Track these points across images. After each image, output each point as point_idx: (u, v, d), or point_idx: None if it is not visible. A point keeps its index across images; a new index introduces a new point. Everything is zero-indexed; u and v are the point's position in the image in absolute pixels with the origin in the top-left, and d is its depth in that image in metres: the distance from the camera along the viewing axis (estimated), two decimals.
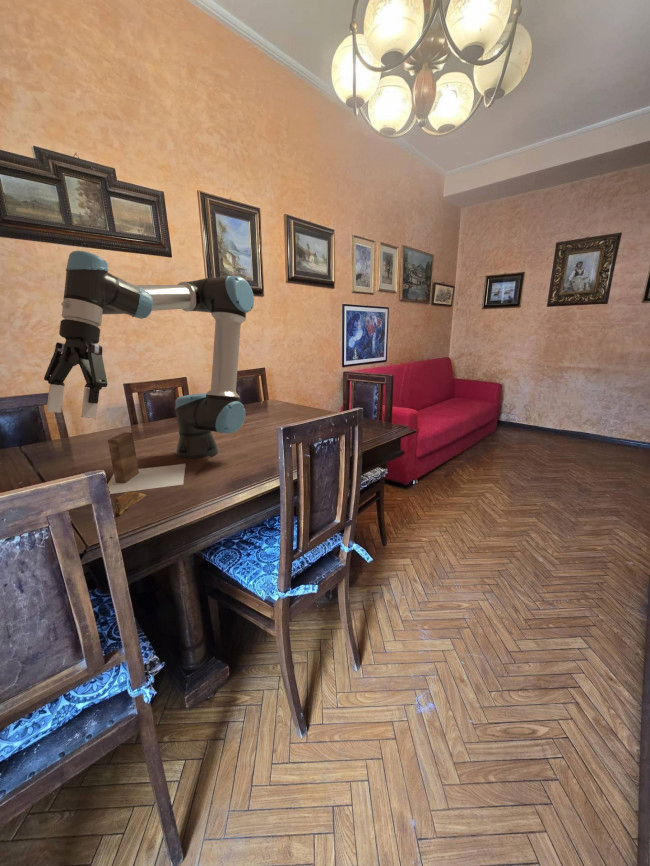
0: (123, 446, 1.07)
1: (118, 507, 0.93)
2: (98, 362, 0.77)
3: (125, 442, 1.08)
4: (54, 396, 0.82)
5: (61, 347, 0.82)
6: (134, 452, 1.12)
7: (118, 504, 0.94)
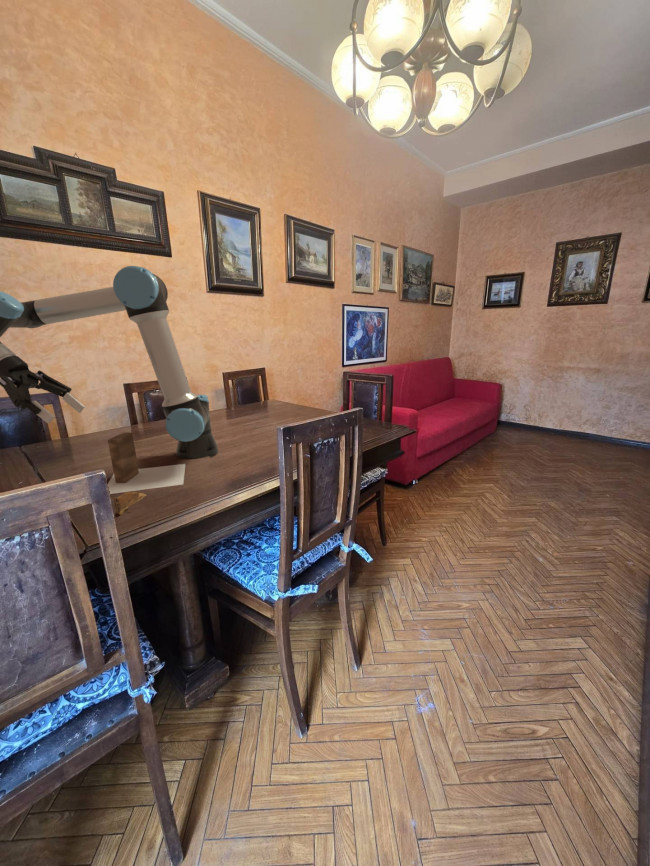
0: (123, 446, 1.07)
1: (118, 507, 0.93)
2: (9, 389, 0.96)
3: (125, 442, 1.08)
4: (70, 402, 1.11)
5: None
6: (134, 452, 1.12)
7: (118, 504, 0.94)
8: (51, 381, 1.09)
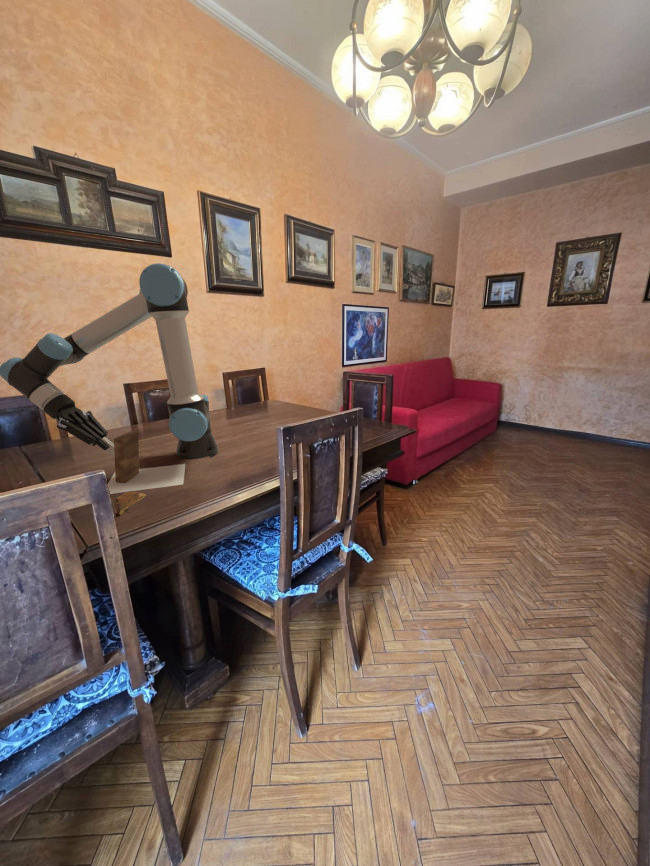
0: (128, 446, 1.07)
1: (118, 507, 0.93)
2: (74, 431, 1.02)
3: (130, 442, 1.08)
4: None
5: None
6: (137, 452, 1.12)
7: (118, 504, 0.94)
8: (93, 421, 1.10)
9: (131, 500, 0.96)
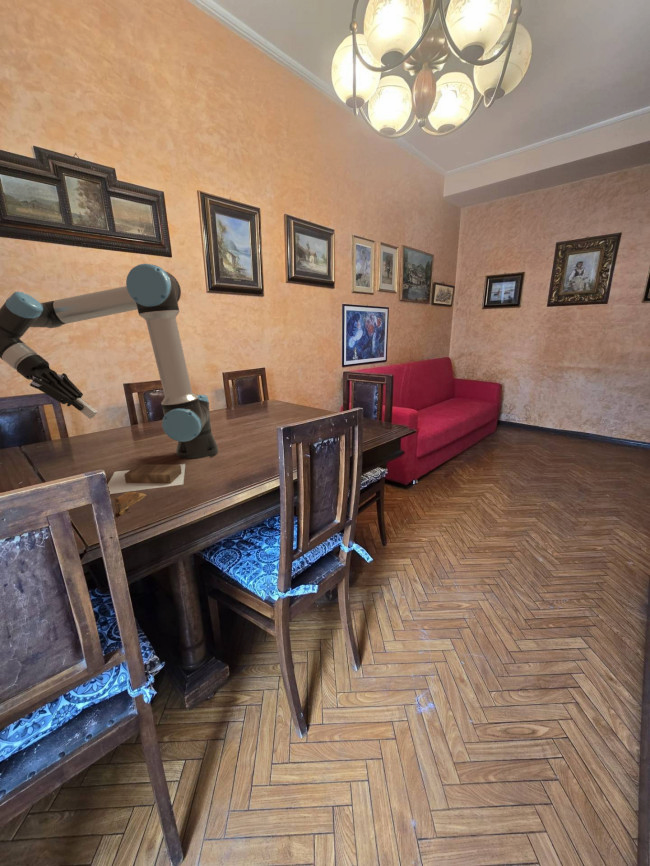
0: None
1: (118, 507, 0.93)
2: (47, 390, 1.02)
3: None
4: None
5: None
6: None
7: (119, 504, 0.94)
8: (68, 383, 1.10)
9: (131, 500, 0.96)
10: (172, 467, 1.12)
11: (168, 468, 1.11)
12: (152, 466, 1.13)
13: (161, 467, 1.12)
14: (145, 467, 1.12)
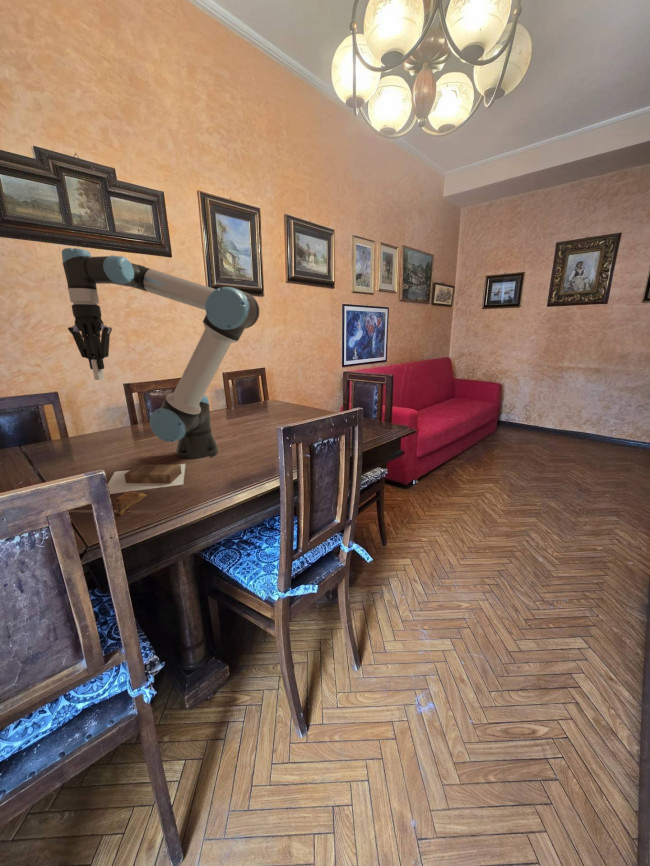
0: None
1: (119, 507, 0.93)
2: None
3: None
4: None
5: None
6: None
7: (119, 504, 0.94)
8: None
9: (131, 500, 0.96)
10: (172, 467, 1.12)
11: (168, 468, 1.11)
12: (152, 466, 1.13)
13: (161, 467, 1.12)
14: (145, 467, 1.12)
